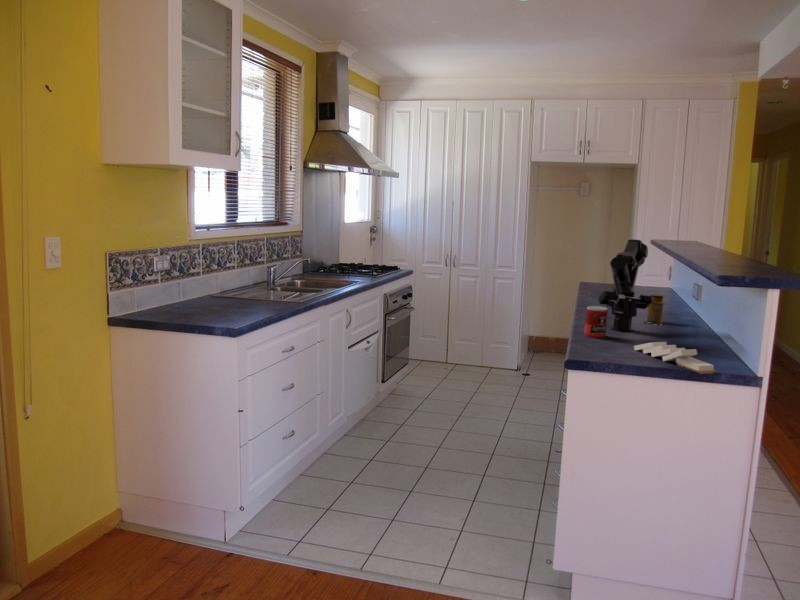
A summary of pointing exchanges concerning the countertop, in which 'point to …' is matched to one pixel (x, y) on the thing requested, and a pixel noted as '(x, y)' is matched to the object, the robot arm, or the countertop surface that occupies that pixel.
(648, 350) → the domino
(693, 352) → the domino
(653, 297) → the condiment
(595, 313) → the canned food
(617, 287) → the robot arm
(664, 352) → the domino
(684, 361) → the domino
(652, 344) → the domino
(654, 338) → the countertop surface
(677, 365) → the domino
